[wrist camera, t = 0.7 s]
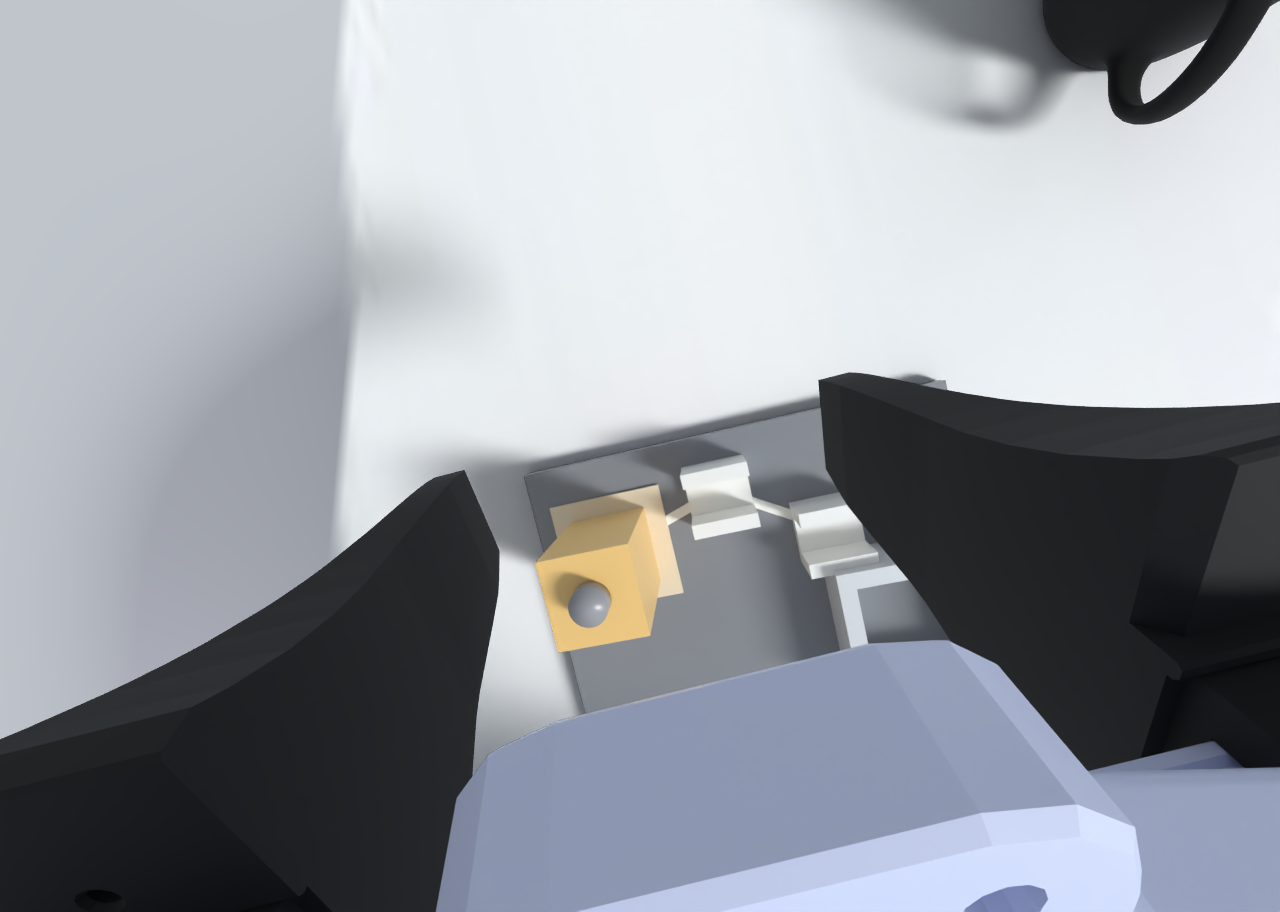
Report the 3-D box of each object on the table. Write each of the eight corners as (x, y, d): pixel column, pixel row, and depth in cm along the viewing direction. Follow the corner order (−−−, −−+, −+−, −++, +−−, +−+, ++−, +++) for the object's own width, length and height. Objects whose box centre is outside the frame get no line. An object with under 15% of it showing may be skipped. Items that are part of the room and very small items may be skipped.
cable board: (990, 672, 30) (1040, 722, 26) (597, 737, 33) (581, 791, 29) (936, 380, 29) (980, 379, 24) (529, 473, 32) (501, 487, 27)
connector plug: (660, 578, 30) (648, 646, 22) (589, 592, 31) (552, 664, 23) (643, 507, 30) (624, 551, 22) (571, 522, 30) (527, 570, 23)
